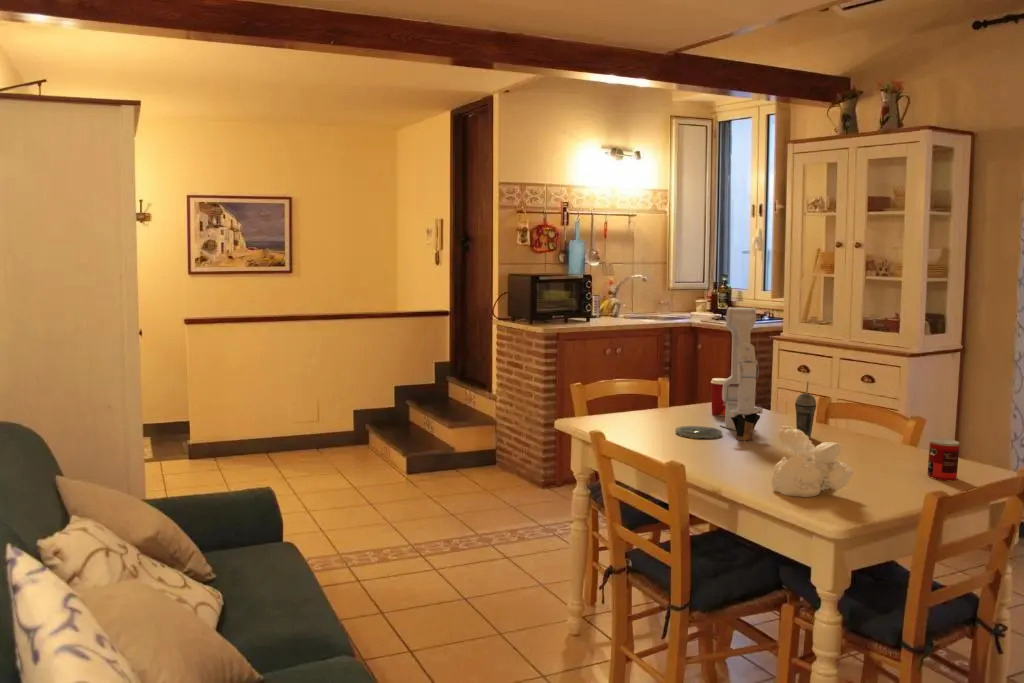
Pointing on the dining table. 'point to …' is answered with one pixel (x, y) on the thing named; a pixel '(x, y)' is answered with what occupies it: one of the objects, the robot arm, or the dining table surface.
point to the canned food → (943, 458)
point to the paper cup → (718, 396)
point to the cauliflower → (808, 466)
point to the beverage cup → (805, 412)
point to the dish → (698, 432)
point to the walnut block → (747, 432)
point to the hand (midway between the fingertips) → (744, 435)
